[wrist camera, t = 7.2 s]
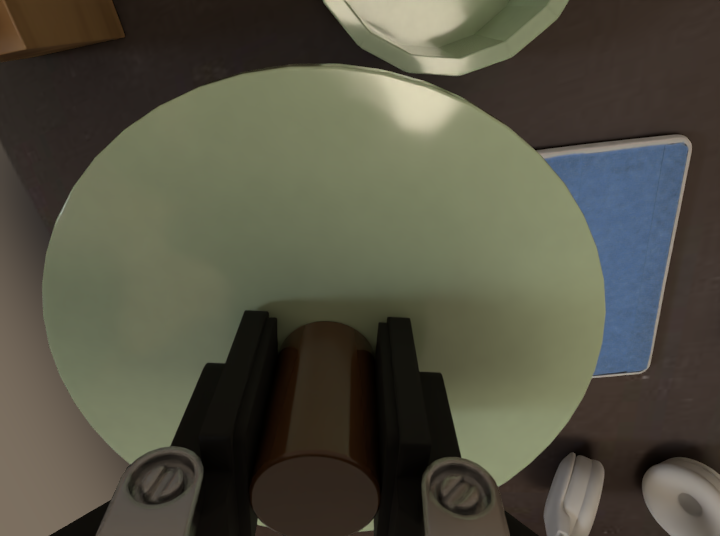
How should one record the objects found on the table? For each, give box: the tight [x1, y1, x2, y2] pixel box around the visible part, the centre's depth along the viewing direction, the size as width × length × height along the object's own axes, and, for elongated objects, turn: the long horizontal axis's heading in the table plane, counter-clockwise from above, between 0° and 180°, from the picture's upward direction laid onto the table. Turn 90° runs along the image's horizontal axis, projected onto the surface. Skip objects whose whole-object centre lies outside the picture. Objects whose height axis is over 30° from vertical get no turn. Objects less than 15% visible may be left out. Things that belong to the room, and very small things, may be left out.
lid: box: [42, 64, 606, 536], centre depth 11 cm, size 14×14×5 cm
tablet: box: [536, 134, 692, 378], centre depth 36 cm, size 19×13×1 cm, turn 7°
